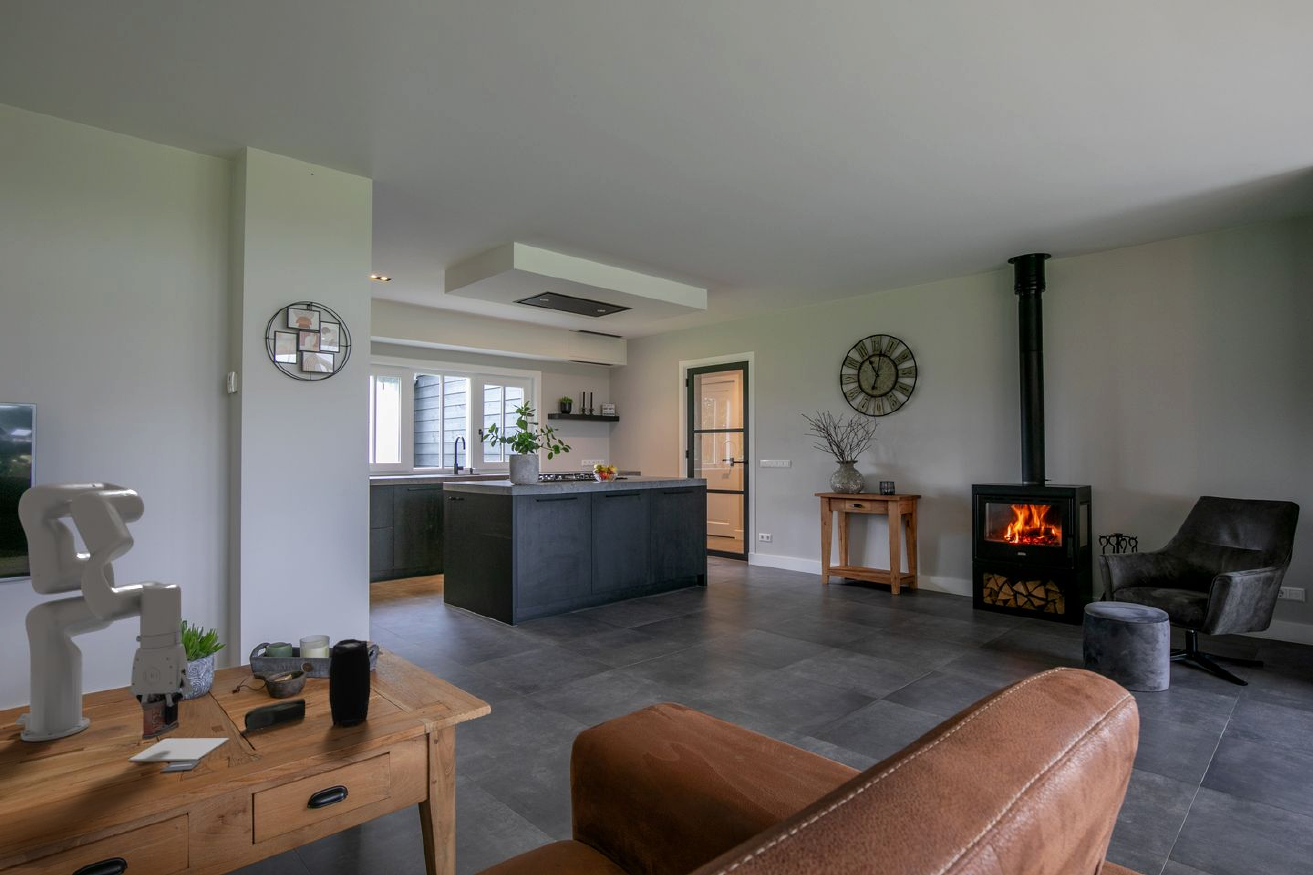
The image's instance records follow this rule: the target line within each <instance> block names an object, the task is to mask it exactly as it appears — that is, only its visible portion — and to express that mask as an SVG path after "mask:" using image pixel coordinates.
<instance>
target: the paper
mask: <svg viewBox="0 0 1313 875" xmlns="http://www.w3.org/2000/svg"><path fill="white" fill-rule="evenodd" d="M228 741H230V737H227V738H226V737H224V738H223V737H219V738H218V737H216V738H215V737H214V738H213V737H210V738H207V737H205V738H202V737H200V738H197V737H195V738H188V737H187V738H183V737H182V738H179V737H178V738H164V739H162V740H160V741H158V742H157V743H155V744H153V745H152V746H150V747H148V748H146V749H144V750H143V751H141V752H139V753H138V754H136V755H134V756H133V757H130V758H129V759H128V762H188V761H197V760H198V761H200V760H201V759H202V757H203V756H204V757H206V756H207V755H209V754H210V753H212V752H213V751H215V750H217V749H218V748H219V747H220V745H221V746H222V745H224V744H225V743H226V742H228ZM214 749H215V750H214ZM205 755H206V756H205ZM204 757H203V758H204ZM200 758H201V759H200ZM199 759H200V760H199Z"/></svg>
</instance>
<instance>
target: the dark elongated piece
mask: <svg viewBox="0 0 1313 875" xmlns="http://www.w3.org/2000/svg"><path fill="white" fill-rule="evenodd" d="M305 717H306V699H304V698H299V699H293V700H289V701H284V702H279V703H275V704H267V705H264V706H259V707H256V708H254V709H252V710H249V711H248V712H246V714H245V716H244V727H245V729H244V730H241V731H239V734H240V735H242V734H243V735H244V734H248V733H251V732H255V731H258V730H257V729H259V730H262V729H261V728H263V729H267V728H271V727H274V726H278V725H283V724H287V723H290V722H295V721H298V720H301V719H303V718H305ZM270 726H271V727H270ZM266 727H267V728H266ZM254 730H255V731H254ZM250 731H251V732H250ZM247 732H248V733H247Z"/></svg>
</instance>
